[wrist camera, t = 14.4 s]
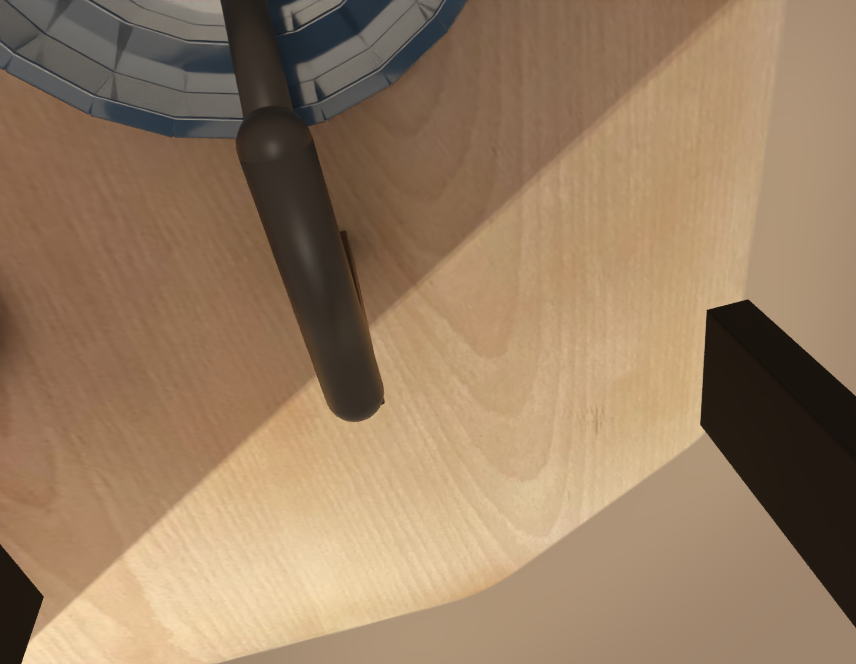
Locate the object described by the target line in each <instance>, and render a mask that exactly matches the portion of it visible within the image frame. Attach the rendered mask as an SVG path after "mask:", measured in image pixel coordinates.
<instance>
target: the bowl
mask: <svg viewBox="0 0 856 664" xmlns="http://www.w3.org/2000/svg"><path fill="white" fill-rule="evenodd" d="M467 1H468V0H268V4H269V9H270V13H271V17H272V22H273V26H274V30H275V34H276V39H277V43H278V47H279V52H280V56H281V60H282V65H283V69H284V73H285V78H286V82H287V86H288V90H289V95H290V99H291V103H292V108H293V112H294V113H295V114H297V115H298V116H299V117H300V118H301V119H302V120H303V121H304V122H305V123H306V125H307V126H311V125H315V124H319V123H323V122H325V120H326V121H327V120H330V119H332V118H334V117H335V116H337V115H339V114H341V113H343V112H344V111H346V110H348V109H350V108H352V107H354V106H355V105H357V104H359V103H361V102H363V101H364V100H366V99H368V98H370V97H372V96H373V95H375V94H377V93H379V92H381V91H383V90H384V89H386V88H388V87H390V86H391V84H394V83H395V82H396V81H397V80H398V79H399V78H400V77H401V76H402V75H404V74H405V73H406V72H407V71H408V70H409V69H410V68H411V67H412V66H413V65H414V64H415V63H416V62H417V61H418V60H419V59H420V58H421V57H422V56H423V55H424V54H425V53H426V52H427V51H429V50H430V49H431V48H432V47H433V46H434V45H435V44H436V43H437V42H438V41H439V40H440V39H441V38H442V37H443V36H444V35H445V34H446V33H447V32H448V29H450V28H451V27H452V25H453V23H454V22H455V20H456V19H457V17H458V15H459V14H460V12H461V11H462V9H463V7H464V6H465V4H466V3H467ZM0 68H1V69H3V70H6V72H7V73H9V74H11V75H13V76H15V77H17V78H19V79H21V80H22V81H24V82H26V83H28V84H30V85H32V86H34V87H36V88H38V89H40V90H42V91H44V92H46V93H48V94H49V95H51V96H53V97H55V98H57V99H59V100H61V101H63V102H65V103H67V104H69V105H71V106H73V107H75V108H77V109H78V110H80V111H82V112H84V113H86V114H90V115H91V116H93V117H96V118H100V119H104V120H108V121H111V122H115V123H119V124H123V125H127V126H130V127H134V128H138V129H142V130H145V131H149V132H153V133H157V134H160V135H164V136H168V137H176V138H212V139H236V137H237V132H238V130H239V127H240V125H241V123H242V122H243V121H244V118H243V113H242V108H241V103H240V98H239V93H238V88H237V83H236V78H235V73H234V67H233V62H232V57H231V52H230V47H229V42H228V37H227V32H226V27H225V22H224V17H223V12H222V6H221V1H220V0H0Z"/></svg>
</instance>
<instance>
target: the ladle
mask: <svg viewBox="0 0 856 664" xmlns="http://www.w3.org/2000/svg"><path fill="white" fill-rule="evenodd" d="M220 1H221V6H222V12H223V17H224V22H225V27H226V32H227V37H228V42H229V47H230V52H231V57H232V62H233V67H234V73H235V78H236V83H237V88H238V93H239V98H240V103H241V108H242V113H243V118H244V121H243V122H242V123H241V125H240V127H239V130H238V132H237V137H236V149H237V154H238V158H239V160H240V163H241V166H242V169H243V172H244V174H245V177H246V180H247V183H248V185H249V188H250V191H251V194H252V197H253V199H254V202H255V205H256V208H257V210H258V213H259V216H260V219H261V222H262V224H263V227H264V230H265V233H266V235H267V238H268V241H269V244H270V247H271V249H272V252H273V255H274V258H275V260H276V263H277V266H278V269H279V272H280V274H281V277H282V280H283V283H284V285H285V288H286V291H287V294H288V297H289V299H290V302H291V305H292V308H293V311H294V313H295V316H296V319H297V322H298V324H299V327H300V330H301V333H302V336H303V338H304V341H305V344H306V347H307V349H308V352H309V355H310V358H311V361H312V363H313V366H314V369H315V372H316V374H317V377H318V380H319V383H320V386H321V388H322V391H323V394H324V397H325V399H326V402H327V404H328V406H329V408H330V410H331V411H332V412H333V413H334V414H335V415H336V416H337V417H339V418H341V419H343V420H346V421H350V422H359V421H363V420H366V419H368V418H370V417H371V416H373V415H374V414H375V413H376V412H377V411H378V409H379V408H380V406H381V405H382V404H384V403H385V401H384V387H383V383H382V379H381V376H380V372H379V369H378V365H377V362H376V358H375V355H374V350H373V345H372V341H371V336H370V332H369V327H368V322H367V318H366V313H365V309H364V304H363V299H362V295H361V290H360V285H359V281H358V276H357V272H356V267H355V263H354V259H353V255H352V252H351V248H350V245H349V241H348V237H347V234H346V231H342V232H339V229H338V225H337V222H336V218H335V215H334V211H333V208H332V204H331V201H330V197H329V194H328V190H327V187H326V183H325V180H324V176H323V173H322V169H321V166H320V162H319V159H318V155H317V152H316V148H315V145H314V141H313V138H312V135H311V132H310V130H309V128H308V126H307V125H306V123H305V122H304V121H303V120H302V119H301V118H300V117H299V116H298V115H297V114H295V113H294V112H293V108H292V103H291V99H290V95H289V90H288V86H287V82H286V78H285V73H284V69H283V65H282V60H281V56H280V52H279V47H278V43H277V39H276V34H275V30H274V26H273V22H272V17H271V13H270V9H269V4H268V0H220Z"/></svg>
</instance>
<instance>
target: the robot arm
mask: <svg viewBox="0 0 856 664" xmlns="http://www.w3.org/2000/svg"><path fill="white" fill-rule="evenodd" d="M700 425H701V426H702V428H703V429H704V430H705V431H706V433H707V434H708V435H709V436H710V438H711V439H712V441H713V442H714V443H715V445H716V446H717V447H718V448H719V450H720V451H721V452H722V454H723V455H724V456H725V457H726V459H727V460H728V461H729V463H730V464H731V465H732V466H733V468H734V469H735V470H736V472H737V473H738V475H739V476H740V477H741V478H742V480H743V481H744V482H745V484H746V485H747V486H748V487H749V489H750V490H751V492H752V493H753V494H754V495H755V497H756V498H757V499H758V501H759V502H760V503H761V505H762V506H763V507H764V509H765V510H766V511H767V512H768V513H769V515H770V516H771V518H772V519H773V520H774V521H775V523H776V524H777V525H778V527H779V528H780V529H781V531H782V532H783V533H784V535H785V536H786V537H787V539H788V540H789V541H790V543H791V544H792V545H793V546H794V548H795V549H796V550H797V552H798V553H799V554H800V556H802V558H803V559H804V561H805V562H806V563H807V565H808V566H809V567H810V569H811V570H812V571H813V573H814V574H815V575H816V577H817V578H818V579H819V580H820V582H821V583H822V584H823V586H824V587H825V588H826V590H827V591H828V592H829V593H830V595H831V596H832V597H833V599H834V600H835V601H836V603H837V604H838V605H839V606H840V608H841V609H842V610H843V612H844V613H845V614H846V616H847V617H848V618H849V620H850V621H851V622H852V624H853V625H854V626H855V627H856V396H855V395H854V394H853V393H852V392H850V391H849V390H848V389H847V388H846V387H845V386H844V385H843V384H841V382H839V381H838V380H837V379H836V378H835V377H834V376H833V375H832V374H831V373H829V372H828V371H827V370H826V369H825V368H824V367H823V366H822V365H821V364H819V363H818V362H817V361H816V360H815V359H814V358H813V357H812V356H811V355H809V354H808V353H807V352H806V351H805V350H804V349H803V348H802V347H801V346H799V345H798V344H797V343H796V342H795V341H794V340H793V339H792V338H791V337H789V336H788V335H787V334H786V333H785V332H784V331H783V330H782V329H781V328H779V327H778V326H777V325H776V324H775V323H774V322H773V321H772V320H770V319H769V318H768V317H767V316H766V315H765V314H764V313H763V312H762V311H761V310H759V309H758V308H757V307H756V306H755V305H754V304H753V303H752V302H751V301H749V300H744V301H740V302H736V303H732V304H728V305H724V306H720V307H716V308H713V309H709V310H707V317H706V334H705V352H704V369H703V387H702V404H701V421H700ZM43 598H44V596H43V595H42V594H41V593H40V592H39V590H38V589H37V588H36V587H35V585H34V584H33V583H32V582H31V581H30V579H29V578H28V577H27V576H26V575H25V573H24V572H23V571H22V570H21V569H20V567H19V566H18V565H17V564H16V563H15V561H14V560H13V559H12V558H11V557H10V555H9V554H8V553H7V552H6V551H5V549H4V548H3V547H2V546H1V545H0V664H21V663H22V660H23V657H24V654H25V651H26V648H27V645H28V642H29V639H30V636H31V633H32V630H33V627H34V624H35V621H36V619H37V616H38V613H39V610H40V607H41V604H42V601H43Z"/></svg>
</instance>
